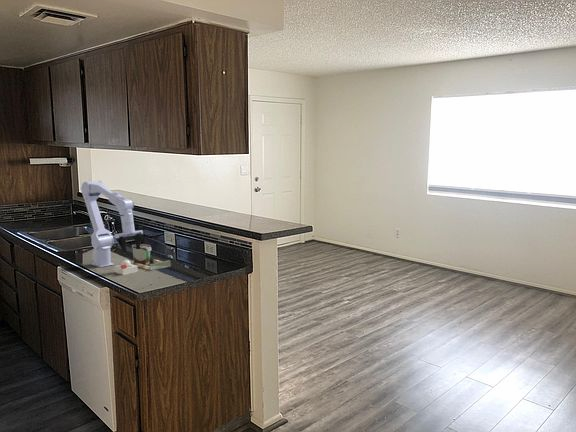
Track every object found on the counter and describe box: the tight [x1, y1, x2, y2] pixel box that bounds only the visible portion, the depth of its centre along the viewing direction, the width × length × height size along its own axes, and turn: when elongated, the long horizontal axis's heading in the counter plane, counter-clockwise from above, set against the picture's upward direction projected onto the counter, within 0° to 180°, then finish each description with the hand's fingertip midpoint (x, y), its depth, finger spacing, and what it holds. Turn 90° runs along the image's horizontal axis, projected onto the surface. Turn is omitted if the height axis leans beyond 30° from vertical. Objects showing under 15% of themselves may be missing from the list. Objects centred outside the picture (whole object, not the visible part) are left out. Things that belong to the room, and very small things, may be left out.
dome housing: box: [113, 263, 139, 276], centre depth 238 cm, size 8×8×5 cm
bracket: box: [134, 259, 172, 271], centre depth 251 cm, size 14×12×3 cm
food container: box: [131, 243, 152, 266], centre depth 255 cm, size 12×6×10 cm, turn 57°
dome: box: [120, 259, 132, 268], centre depth 238 cm, size 5×5×5 cm
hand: (131, 250), depth 239 cm, fingers open, 7 cm apart
